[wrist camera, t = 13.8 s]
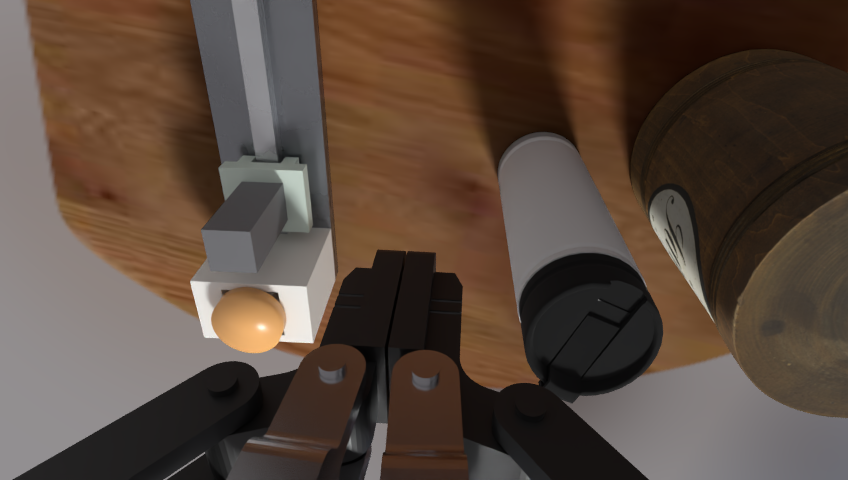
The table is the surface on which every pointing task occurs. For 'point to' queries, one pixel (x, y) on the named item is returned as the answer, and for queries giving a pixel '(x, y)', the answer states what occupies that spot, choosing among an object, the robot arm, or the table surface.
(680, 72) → the table surface
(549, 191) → the travel mug
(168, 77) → the table surface
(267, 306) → the button
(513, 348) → the table surface
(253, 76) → the rail
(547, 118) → the table surface
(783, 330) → the wooden container
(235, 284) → the cabinet
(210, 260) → the carriage
